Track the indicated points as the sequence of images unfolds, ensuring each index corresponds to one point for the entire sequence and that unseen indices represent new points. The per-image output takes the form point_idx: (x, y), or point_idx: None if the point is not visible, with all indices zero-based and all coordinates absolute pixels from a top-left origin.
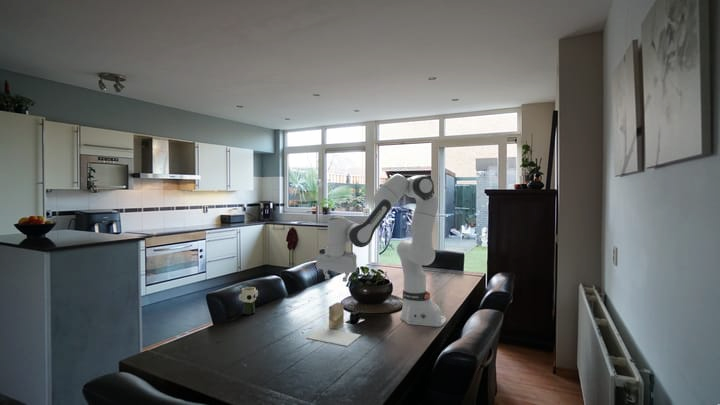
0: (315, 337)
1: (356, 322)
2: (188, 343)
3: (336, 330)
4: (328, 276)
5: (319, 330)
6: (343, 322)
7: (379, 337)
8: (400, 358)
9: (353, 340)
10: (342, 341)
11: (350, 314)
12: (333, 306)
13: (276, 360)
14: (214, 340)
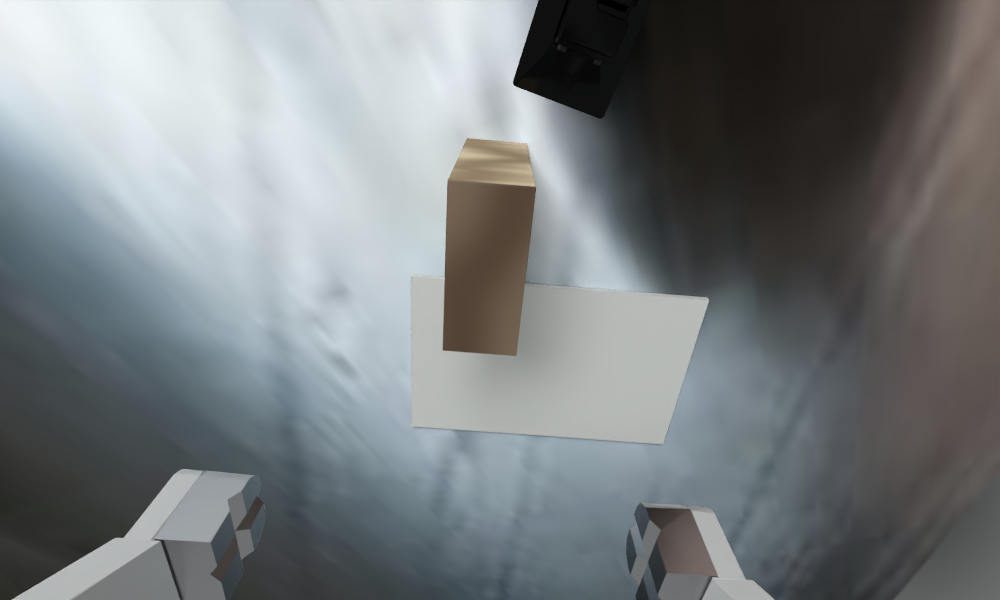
0: (457, 412)
1: (619, 55)
2: (7, 585)
3: (528, 288)
4: (227, 548)
5: (423, 322)
6: (526, 147)
7: (834, 283)
8: (935, 467)
9: (679, 384)
10: (621, 411)
11: (562, 38)
12: (476, 325)
13: (427, 594)
14: (57, 546)
